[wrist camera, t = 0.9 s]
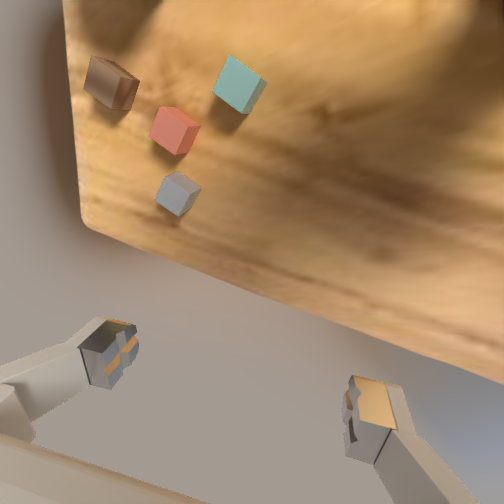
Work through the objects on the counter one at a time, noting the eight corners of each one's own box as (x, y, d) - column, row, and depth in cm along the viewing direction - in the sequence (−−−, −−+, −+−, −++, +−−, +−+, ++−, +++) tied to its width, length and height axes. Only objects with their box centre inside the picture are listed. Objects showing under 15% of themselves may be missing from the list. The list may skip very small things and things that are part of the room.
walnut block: (114, 61, 44) (91, 55, 39) (140, 81, 44) (120, 76, 40) (105, 92, 46) (83, 89, 42) (130, 110, 46) (110, 109, 42)
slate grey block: (179, 171, 49) (165, 176, 45) (201, 187, 50) (190, 194, 45) (168, 193, 52) (154, 200, 47) (190, 208, 52) (178, 216, 48)
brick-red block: (176, 107, 45) (160, 106, 40) (201, 125, 45) (188, 126, 41) (164, 134, 47) (148, 136, 43) (188, 152, 47) (174, 155, 43)
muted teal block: (240, 61, 40) (229, 54, 35) (267, 82, 40) (260, 77, 36) (223, 94, 42) (211, 91, 38) (249, 114, 42) (241, 113, 38)
